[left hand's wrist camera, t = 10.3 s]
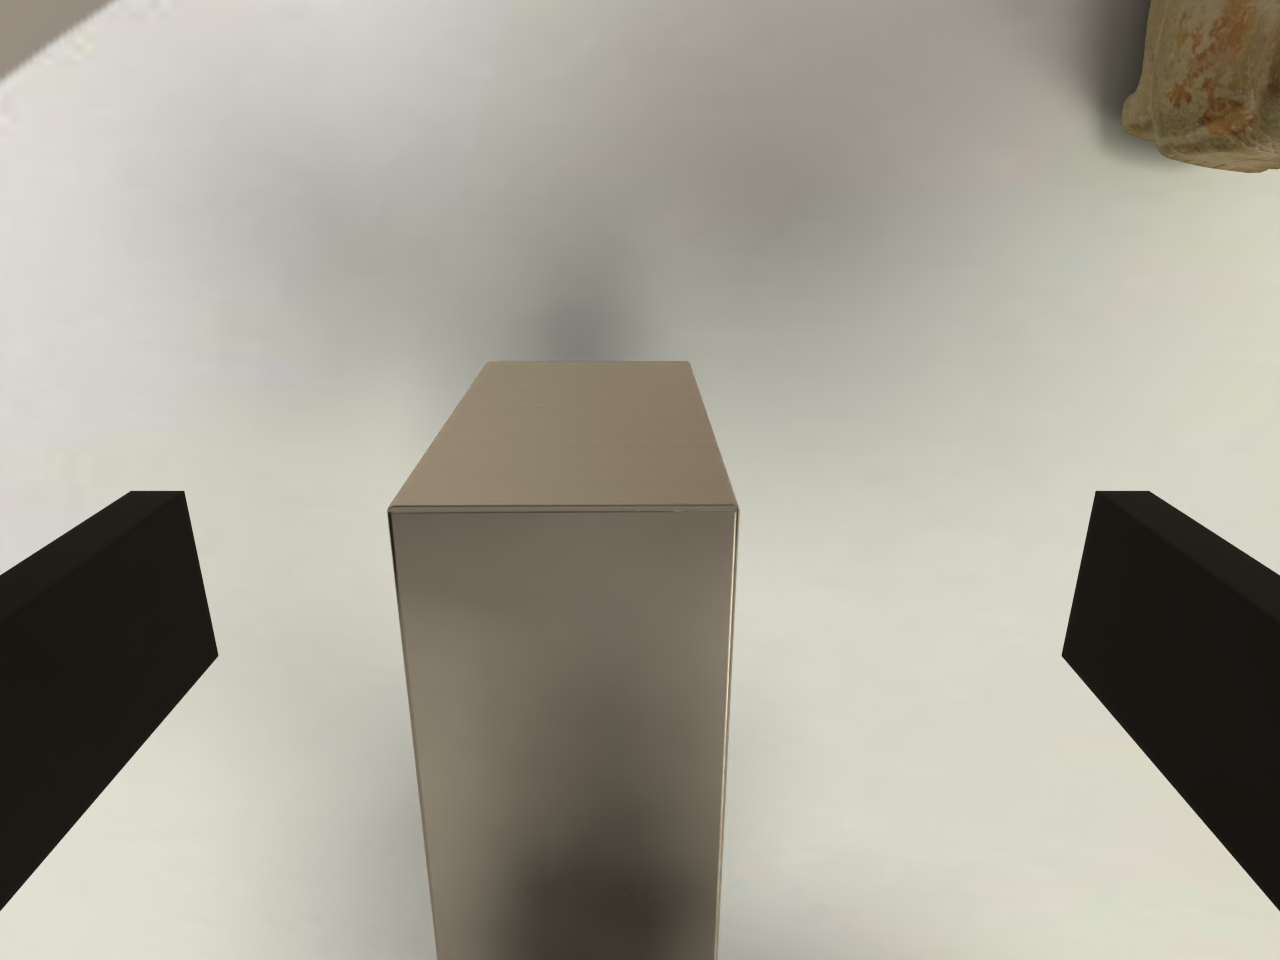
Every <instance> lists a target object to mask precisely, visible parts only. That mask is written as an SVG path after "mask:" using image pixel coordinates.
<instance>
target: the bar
mask: <svg viewBox="0 0 1280 960" xmlns="http://www.w3.org/2000/svg"><path fill="white" fill-rule="evenodd" d="M739 512H740V509H739V506H738V503H737V500H736V497H735V495H734V492H733V489H732V486H731V483H730V480H729V477H728V474H727V471H726V468H725V465H724V462H723V459H722V456H721V453H720V451H719V448H718V445H717V442H716V439H715V436H714V433H713V430H712V427H711V424H710V421H709V418H708V415H707V412H706V410H705V407H704V404H703V401H702V398H701V395H700V392H699V389H698V386H697V383H696V380H695V377H694V374H693V371H692V368H691V366H690V363H689V362H687V361H560V362H487V363H486V365H485V366H484V368H483V369H482V371H481V372H480V373H479V375H478V376H477V378H476V379H475V381H474V382H473V384H472V385H471V387H470V388H469V390H468V391H467V393H466V394H465V395H464V397H463V398H462V400H461V401H460V403H459V404H458V406H457V407H456V409H455V410H454V412H453V413H452V415H451V416H450V417H449V419H448V420H447V422H446V423H445V425H444V426H443V428H442V429H441V431H440V432H439V434H438V435H437V437H436V438H435V439H434V441H433V442H432V444H431V445H430V447H429V448H428V450H427V451H426V453H425V454H424V456H423V457H422V459H421V460H420V461H419V463H418V464H417V466H416V467H415V469H414V470H413V472H412V473H411V475H410V476H409V478H408V479H407V481H406V482H405V483H404V485H403V486H402V488H401V489H400V491H399V492H398V494H397V495H396V497H395V498H394V500H393V501H392V503H391V504H390V505H389V507H388V510H387V515H388V524H389V533H390V542H391V551H392V560H393V569H394V578H395V586H396V595H397V604H398V613H399V622H400V631H401V640H402V649H403V658H404V667H405V676H406V684H407V693H408V702H409V711H410V720H411V729H412V738H413V747H414V756H415V765H416V774H417V782H418V791H419V800H420V809H421V818H422V827H423V836H424V845H425V854H426V863H427V871H428V880H429V889H430V898H431V907H432V916H433V925H434V934H435V943H436V952H437V960H718V941H719V920H720V900H721V879H722V859H723V839H724V818H725V798H726V777H727V757H728V737H729V716H730V696H731V675H732V655H733V635H734V614H735V594H736V573H737V553H738V532H739Z"/></svg>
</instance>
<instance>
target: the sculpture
mask: <svg viewBox="0 0 1280 960" xmlns="http://www.w3.org/2000/svg"><path fill="white" fill-rule="evenodd" d="M1121 121H1122V126H1123V128H1124V130H1125V131H1126V132H1127V133H1129V134H1131V135H1134V136H1137V137H1139V138H1142V139H1146V140H1151V141H1156V145H1157V148H1158V150H1159V152H1160V153H1161V154H1162V155H1163V156H1166V157H1168V158H1170V159H1174V160H1177V161H1181V162H1185V163H1189V164H1193V165H1198V166H1203V167H1208V168H1214V169H1221V170H1230V171H1238V172H1246V173H1258V172H1263V171H1266V170H1268V169H1280V0H1151V2H1150V8H1149V14H1148V20H1147V28H1146V37H1145V49H1144V59H1143V67H1142V74H1141V78H1140V81H1139V84H1138V87H1137V89H1136V91H1135V92H1133V93H1131V94H1130V95H1129V96H1128V97H1127V98H1126V100H1125V102H1124V103H1123V109H1122V115H1121Z"/></svg>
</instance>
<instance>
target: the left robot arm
mask: <svg viewBox="0 0 1280 960" xmlns="http://www.w3.org/2000/svg"><path fill="white" fill-rule="evenodd" d="M217 657H218V651H217V646H216V642H215V637H214V632H213V627H212V622H211V617H210V613H209V608H208V603H207V598H206V593H205V589H204V584H203V579H202V574H201V569H200V565H199V560H198V555H197V550H196V545H195V541H194V536H193V531H192V526H191V521H190V517H189V512H188V507H187V502H186V497H185V492H184V491H130V492H129V493H127V494H126V495H124V496H123V497H121V498H119V499H118V500H116V501H115V502H113V503H112V504H110V505H109V506H107V507H105V508H104V509H102V510H101V511H99V512H98V513H96V514H95V515H93V516H92V517H90V518H88V519H87V520H85V521H84V522H82V523H81V524H79V525H78V526H76V527H74V528H73V529H71V530H70V531H68V532H67V533H65V534H64V535H62V536H61V537H59V538H57V539H56V540H54V541H53V542H51V543H50V544H48V545H47V546H45V547H43V548H42V549H40V550H39V551H37V552H36V553H34V554H33V555H31V556H30V557H28V558H26V559H25V560H23V561H22V562H20V563H19V564H17V565H16V566H14V567H13V568H11V569H9V570H8V571H6V572H5V573H3V574H2V575H0V911H1V910H2V908H3V907H4V906H5V905H6V904H7V903H8V901H9V900H10V899H11V898H12V897H13V896H14V894H15V893H16V892H17V891H18V890H19V889H20V887H21V886H22V885H23V884H24V883H25V882H26V880H27V879H28V878H29V877H30V876H31V875H32V873H33V872H34V871H35V870H36V869H37V868H38V866H39V865H40V864H41V863H42V862H43V860H44V859H45V858H46V857H47V856H48V855H49V853H50V852H51V851H52V850H53V849H54V848H55V846H56V845H57V844H58V843H59V842H60V841H61V839H62V838H63V837H64V836H65V835H66V834H67V832H68V831H69V830H70V829H71V828H72V827H73V825H74V824H75V823H76V822H77V821H78V820H79V818H80V817H81V816H82V815H83V814H84V813H85V811H86V810H87V809H88V808H89V807H90V805H91V804H92V803H93V802H94V801H95V800H96V798H97V797H98V796H99V795H100V794H101V793H102V791H103V790H104V789H105V788H106V787H107V786H108V784H109V783H110V782H111V781H112V780H113V779H114V777H115V776H116V775H117V774H118V773H119V772H120V770H121V769H122V768H123V767H124V766H125V765H126V763H127V762H128V761H129V760H130V759H131V758H132V756H133V755H134V754H135V753H136V752H137V751H138V749H139V748H140V747H141V746H142V745H143V743H144V742H145V741H146V740H147V739H148V738H149V736H150V735H151V734H152V733H153V732H154V731H155V729H156V728H157V727H158V726H159V725H160V724H161V722H162V721H163V720H164V719H165V718H166V717H167V715H168V714H169V713H170V712H171V711H172V710H173V708H174V707H175V706H176V705H177V704H178V703H179V701H180V700H181V699H182V698H183V697H184V696H185V694H186V693H187V692H188V691H189V690H190V688H191V687H192V686H193V685H194V684H195V683H196V681H197V680H198V679H199V678H200V677H201V676H202V674H203V673H204V672H205V671H206V670H207V669H208V667H209V666H210V665H211V664H212V663H213V662H214V660H215V659H216V658H217ZM1062 657H1063V658H1064V659H1065V660H1066V662H1067V663H1068V664H1069V665H1070V666H1071V667H1072V669H1073V670H1074V671H1075V672H1076V673H1077V674H1078V676H1079V677H1080V678H1081V679H1082V680H1083V681H1084V683H1085V684H1086V685H1087V686H1088V687H1089V688H1090V690H1091V691H1092V692H1093V693H1094V694H1095V696H1096V697H1097V698H1098V699H1099V700H1100V701H1101V703H1102V704H1103V705H1104V706H1105V707H1106V708H1107V710H1108V711H1109V712H1110V713H1111V714H1112V715H1113V717H1114V718H1115V719H1116V720H1117V721H1118V722H1119V724H1120V725H1121V726H1122V727H1123V728H1124V729H1125V731H1126V732H1127V733H1128V734H1129V735H1130V736H1131V738H1132V739H1133V740H1134V741H1135V742H1136V743H1137V745H1138V746H1139V747H1140V748H1141V749H1142V751H1143V752H1144V753H1145V754H1146V755H1147V756H1148V758H1149V759H1150V760H1151V761H1152V762H1153V763H1154V765H1155V766H1156V767H1157V768H1158V769H1159V770H1160V772H1161V773H1162V774H1163V775H1164V776H1165V777H1166V779H1167V780H1168V781H1169V782H1170V783H1171V784H1172V786H1173V787H1174V788H1175V789H1176V790H1177V791H1178V793H1179V794H1180V795H1181V796H1182V797H1183V798H1184V800H1185V801H1186V802H1187V803H1188V804H1189V805H1190V807H1191V808H1192V809H1193V810H1194V811H1195V813H1196V814H1197V815H1198V816H1199V817H1200V818H1201V820H1202V821H1203V822H1204V823H1205V824H1206V825H1207V827H1208V828H1209V829H1210V830H1211V831H1212V832H1213V834H1214V835H1215V836H1216V837H1217V838H1218V839H1219V841H1220V842H1221V843H1222V844H1223V845H1224V846H1225V848H1226V849H1227V850H1228V851H1229V852H1230V853H1231V855H1232V856H1233V857H1234V858H1235V859H1236V860H1237V862H1238V863H1239V864H1240V865H1241V866H1242V868H1243V869H1244V870H1245V871H1246V872H1247V873H1248V875H1249V876H1250V877H1251V878H1252V879H1253V880H1254V882H1255V883H1256V884H1257V885H1258V886H1259V887H1260V889H1261V890H1262V891H1263V892H1264V893H1265V894H1266V896H1267V897H1268V898H1269V899H1270V900H1271V901H1272V903H1273V904H1274V905H1275V906H1276V907H1277V908H1278V910H1279V911H1280V575H1278V574H1277V573H1275V572H1274V571H1272V570H1271V569H1269V568H1267V567H1266V566H1264V565H1263V564H1261V563H1260V562H1258V561H1257V560H1255V559H1254V558H1252V557H1250V556H1249V555H1247V554H1246V553H1244V552H1243V551H1241V550H1240V549H1238V548H1237V547H1235V546H1233V545H1232V544H1230V543H1229V542H1227V541H1226V540H1224V539H1223V538H1221V537H1219V536H1218V535H1216V534H1215V533H1213V532H1212V531H1210V530H1209V529H1207V528H1206V527H1204V526H1202V525H1201V524H1199V523H1198V522H1196V521H1195V520H1193V519H1192V518H1190V517H1188V516H1187V515H1185V514H1184V513H1182V512H1181V511H1179V510H1178V509H1176V508H1175V507H1173V506H1171V505H1170V504H1168V503H1167V502H1165V501H1164V500H1162V499H1161V498H1159V497H1157V496H1156V495H1154V494H1153V493H1151V492H1150V491H1096V492H1095V497H1094V502H1093V507H1092V512H1091V517H1090V521H1089V526H1088V531H1087V536H1086V541H1085V545H1084V550H1083V555H1082V560H1081V565H1080V569H1079V574H1078V579H1077V584H1076V589H1075V593H1074V598H1073V603H1072V608H1071V613H1070V617H1069V622H1068V627H1067V632H1066V637H1065V642H1064V646H1063V651H1062Z"/></svg>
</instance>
